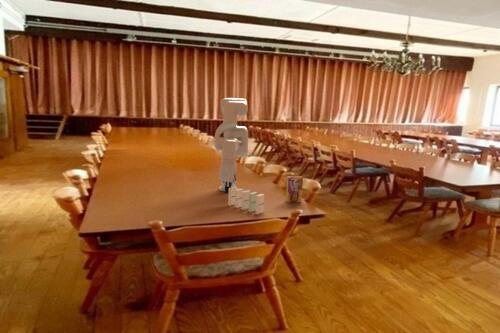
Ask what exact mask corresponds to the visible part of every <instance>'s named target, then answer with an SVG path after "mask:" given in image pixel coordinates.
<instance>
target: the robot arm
mask: <svg viewBox="0 0 500 333" xmlns="http://www.w3.org/2000/svg"><path fill="white" fill-rule="evenodd" d="M219 106H220V111H221V113H222V116H223V117H222V119H223V120H222V121H223V122H222V123H221V124H220V125H219V126H218V127H217V128H216V130H215V134H214V142H213V143H214V148H215V150H216V151H220V153H221V163H220V166H219V170H218V171H219V174H218V178H219V181H220V182H221V185H220V186H219V187H218V190H219V191H221V192H224V193H225V194H229V188H232V187H237V186H236V185H237V176H238V175H237V174H238V172H237V162H236V158H246V157H247V156H248V154H249V130H248V128H247V127H246V126H243V125H241V126H239V125H238V116H247V114H248V110H249V108H248V100H247V99H246V98H243V97H242V98H237V97H224V98H222V99H220V105H219ZM221 134H223V137H221ZM237 189H239V187H237Z"/></svg>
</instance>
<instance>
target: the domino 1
mask: <svg viewBox="0 0 500 333" xmlns="http://www.w3.org/2000/svg"><path fill="white" fill-rule="evenodd" d="M235 190H237V186H236V187H232V188H229V193H228V195H227V196H228V199H227V203H228V204H227V206H229V207H230V206H231V205H232V206H235ZM232 206H231V207H232Z"/></svg>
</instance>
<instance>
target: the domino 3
mask: <svg viewBox="0 0 500 333" xmlns="http://www.w3.org/2000/svg"><path fill="white" fill-rule="evenodd" d="M249 193H251V190H249V189H247V190H243V192H242V206H241V207H240V208H241V210H242V211H244V210H248V207H249Z"/></svg>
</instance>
